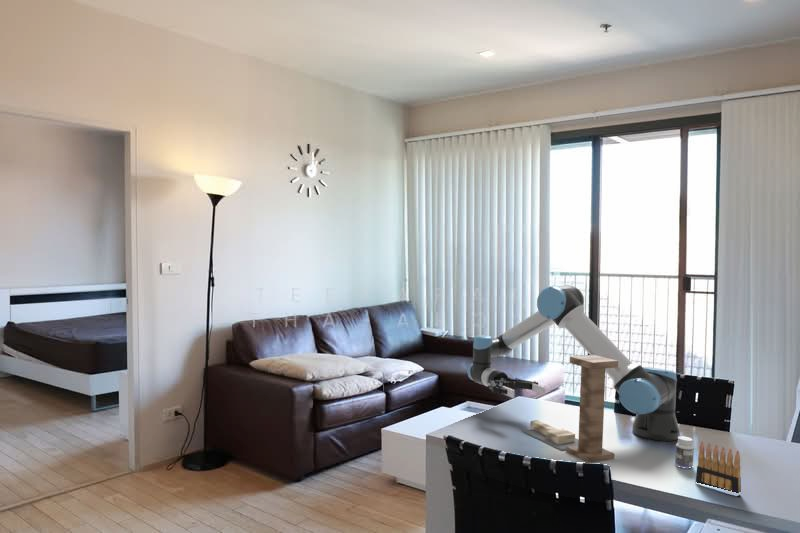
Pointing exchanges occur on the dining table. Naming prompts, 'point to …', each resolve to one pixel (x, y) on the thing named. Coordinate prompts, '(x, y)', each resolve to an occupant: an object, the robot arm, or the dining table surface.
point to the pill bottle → (684, 452)
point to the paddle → (553, 432)
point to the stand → (591, 408)
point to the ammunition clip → (719, 469)
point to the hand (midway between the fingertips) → (529, 392)
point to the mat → (544, 439)
